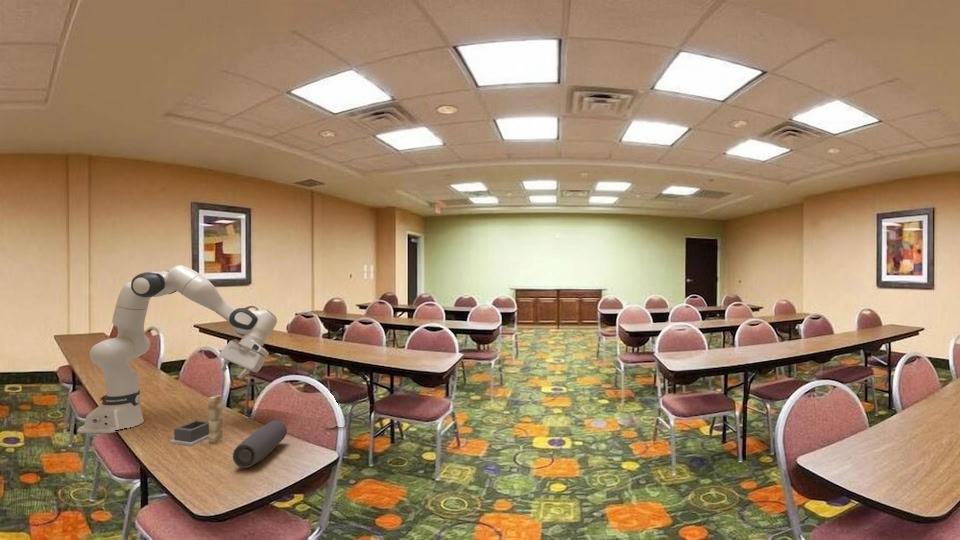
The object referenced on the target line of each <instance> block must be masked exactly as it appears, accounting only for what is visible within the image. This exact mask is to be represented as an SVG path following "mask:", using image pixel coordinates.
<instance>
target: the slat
mask: <svg viewBox="0 0 960 540" xmlns="http://www.w3.org/2000/svg"><path fill="white" fill-rule="evenodd" d="M207 402H208V405H207V406H208V421H209V438H208V440H209V441H208V443H209V444H212V445H215V444H217V443H219V442H221V441H223V440H224V437H223V436H224V435H223V429H224V428H223V396H222V394H216V395H213V396H209V397H208V398H207Z"/></svg>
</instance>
